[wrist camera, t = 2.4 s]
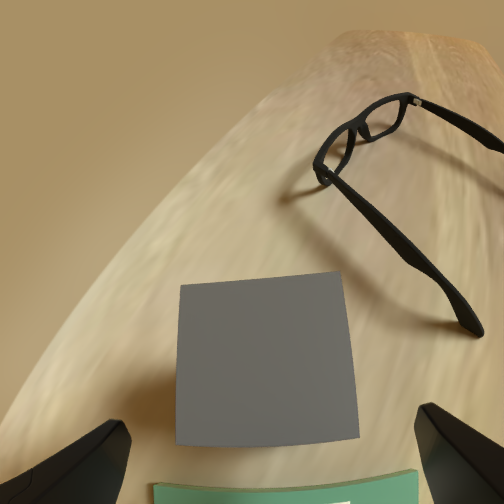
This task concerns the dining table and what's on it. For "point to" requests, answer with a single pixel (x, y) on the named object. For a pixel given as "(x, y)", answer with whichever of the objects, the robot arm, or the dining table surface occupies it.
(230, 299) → the block
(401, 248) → the glasses
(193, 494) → the board
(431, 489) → the robot arm
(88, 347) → the dining table surface
